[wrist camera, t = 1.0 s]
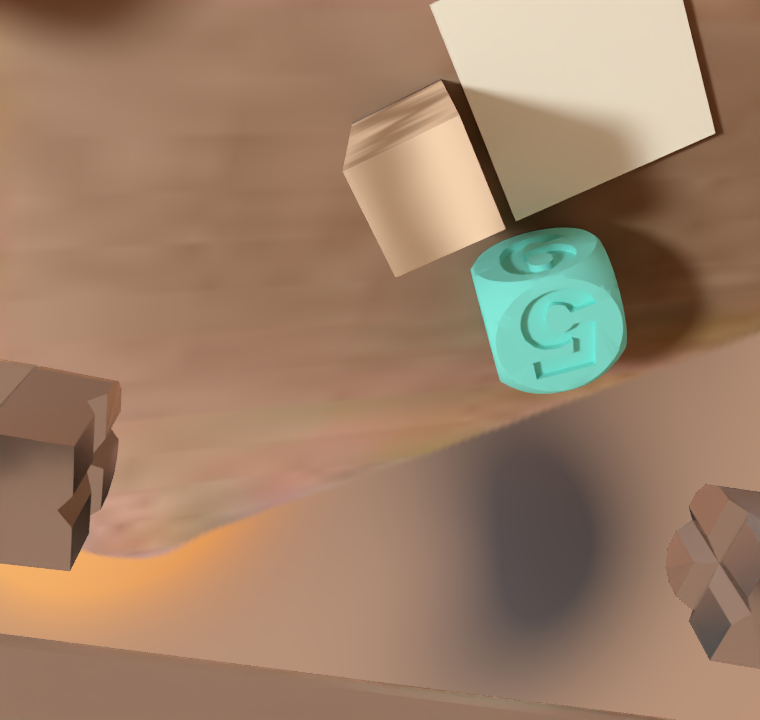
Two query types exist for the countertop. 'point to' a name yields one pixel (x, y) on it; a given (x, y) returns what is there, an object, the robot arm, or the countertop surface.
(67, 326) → the countertop surface
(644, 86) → the mat
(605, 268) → the decorative dice
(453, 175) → the birch block
